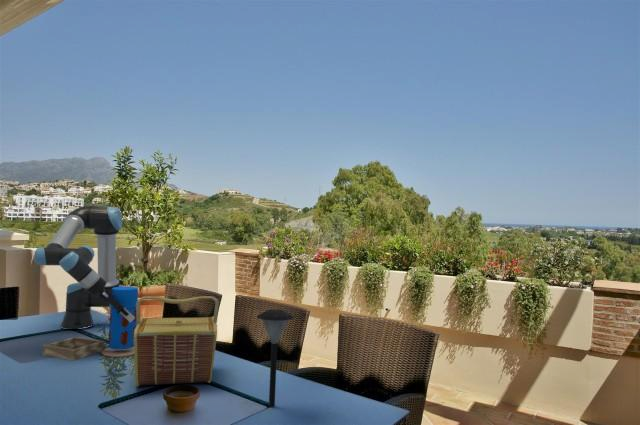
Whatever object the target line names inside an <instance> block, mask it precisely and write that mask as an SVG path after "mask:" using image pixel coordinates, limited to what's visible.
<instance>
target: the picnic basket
mask: <svg viewBox="0 0 640 425" xmlns="http://www.w3.org/2000/svg"><path fill="white" fill-rule="evenodd" d="M144 300H158V301H160V302H162V303H167V304H175V305H176V304H177V305H179V304H181V305H182V304H188V303H194V302H197V301H199V300H213V301H214V303H215V304H214V305H215V306H214V312H213V316H204V317H203V316H202V317H148V318H147V317H146V318H145V317H141V302H142V301H144ZM219 306H220V301H219V299H218V298H216V297H215V296H209V295H207V296H195V297H190V298H185V299H183V298H182V299H179V298H178V299H175V298H168V297H161V296H150V295H148V296H142V297H140V298H138V300H137V303H136V318H137V324H136V328H135V331H134V355H133V358H134V379H135V380H134V383H135V387H140V386H154V385H155V386H157V385H174V384H175V385H176V384H195V383H196V384H197V383H208V384H210V383H211V382H212V379H213V378H212V377H213V370H214V361H215V354H216V344H217V338H218V337H217V335H218V325H217V322H218V321H217V320H218V313H219Z"/></svg>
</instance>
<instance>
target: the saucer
mask: <svg viewBox="0 0 640 425" xmlns="http://www.w3.org/2000/svg"><path fill="white" fill-rule="evenodd" d="M133 354H134V347H132V348H128V349H111V348H109V347H106V348H104V350H102V351H101V355H102V356H105V357H109V358H123V356H125V357H130V356H129V355H132V356H134V355H133Z"/></svg>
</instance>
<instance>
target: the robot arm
mask: <svg viewBox="0 0 640 425" xmlns="http://www.w3.org/2000/svg"><path fill="white" fill-rule="evenodd" d="M122 228H123V216H122V211H121V210H120V208H118V207H115V206H108V205H107V206H104V205H103V206H101V205H100V206H99V205H84V206H80V207H77V208H75V209H73V210H72V211H70V212H68V214H67V215H66V216H65V217H63V221H62V225H61V226H60V228H59V229H58V230H57V232H56V233H55V235H53V237H52V238H51V240H50V241H49V242H48V244H47V245H46V246H43V247H37V248H36V249H35V251H34V254H33V258H34V264H36V265H39V266H60V267H61V269H62V270H64V271H65V273H67V274H68V275H69V276H71V278H73V279H74V280H75V281H76V282H74V283H70V284H69V285H68V286H67V288H66V293H65V295H66V297H65V300H66V301H65V313H64V316H63V318H62V319H63V320H62V321H61V323H60V328H61V327H63V328H69V329H70V328H83V327H88V326H91V325H93V324H94V319H93V315H92V312H91V311H92V308H111V305H112V306H113V307H114V308H116V309H117V310H118V312H117V313H121V314H122V315H123V316H124V317H125V318H126V319H127V320H128V321H129V322H130V323H131V322H132V321H133V320H134V319H135V317H134V316H133V315H132V314H131V313H130V312H129V311H128V310H127V309H126V308H124V307H123V306H122V305H121V304H120V303H119V302H118V301H116V300H115V299H114V296H113V295H112V294H111V291H112V288H114V287H124V286H123V284H120V281H119V279H117V270H116V269H117V259H116V258H117V256H116V255H117V253H116V250H117V248H116V245H117V244H116V242H117V241H116V240H117V235H118V234H119V232H120V231H121V230H122ZM85 229H86V230H89V229H90V230H93V234H94V235H95V236H96V238H97V239H96V241H97V242H96V244H97V245H96V246H97V272H96V270H94V269H93V268H92V267H91V266H90V264H91V262H92V261H93V259H94V257H95V250H94V249H93V248H92V247H91V246H89V245H85V244H84V245H82V246H79V247H75V248H74V247H70V245H71V243H72V242H73V241H74V239H75V238H76V236H77V234H78V233H79V232H81V231H82V230H85ZM119 307H120V308H119ZM118 308H119V309H118ZM93 326H94V325H93Z"/></svg>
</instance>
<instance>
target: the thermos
mask: <svg viewBox="0 0 640 425" xmlns="http://www.w3.org/2000/svg"><path fill="white" fill-rule="evenodd" d="M111 294H112V295H113V296H114V299H115V300H116V301H118V302H119V303H120V304H121V305H122V306H123V307H124V308H126V309H127V310H128V311H129V312H130V313H131V314H132V315H133V316H134V317H135V319H134V320H133V321H132V322H131V323H130V322H129V321H128V320H127V319H126V318H125V317H124V316H123V315H122V314H121V313H117V312H118V310H117V309H116V308H114V307H113V306H112V305H111V307H109V308H110V312H109V327H108V328H109V329H108V331H109V332H108V348H111V349H128V348H132V347H134V331H135V328H136V326H137V318H136V303H137V300H138V299H139V288H138V287H136V286H123V287H114V288H112V291H111ZM119 308H120V307H119ZM119 308H118V309H119Z"/></svg>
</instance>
